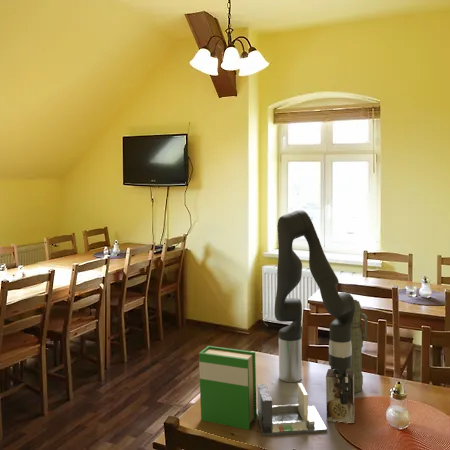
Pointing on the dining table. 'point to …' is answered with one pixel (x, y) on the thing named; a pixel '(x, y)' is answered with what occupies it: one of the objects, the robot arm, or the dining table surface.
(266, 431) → the gauge frame
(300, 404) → the paddle
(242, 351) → the hardback book
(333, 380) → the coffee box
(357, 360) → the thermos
